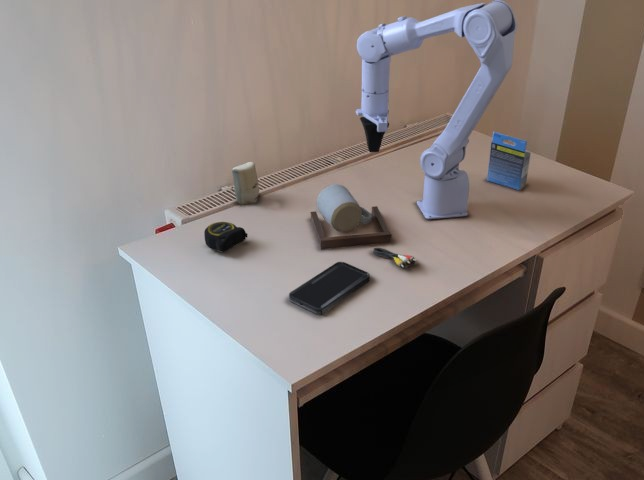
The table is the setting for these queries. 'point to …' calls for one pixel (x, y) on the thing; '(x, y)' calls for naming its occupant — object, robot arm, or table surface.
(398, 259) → the composite cable
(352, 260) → the table surface
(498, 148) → the label tape box
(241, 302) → the table surface
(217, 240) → the tape measure
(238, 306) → the table surface
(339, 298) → the phone
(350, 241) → the frame
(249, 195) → the beige upright block
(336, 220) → the ceramic mug
